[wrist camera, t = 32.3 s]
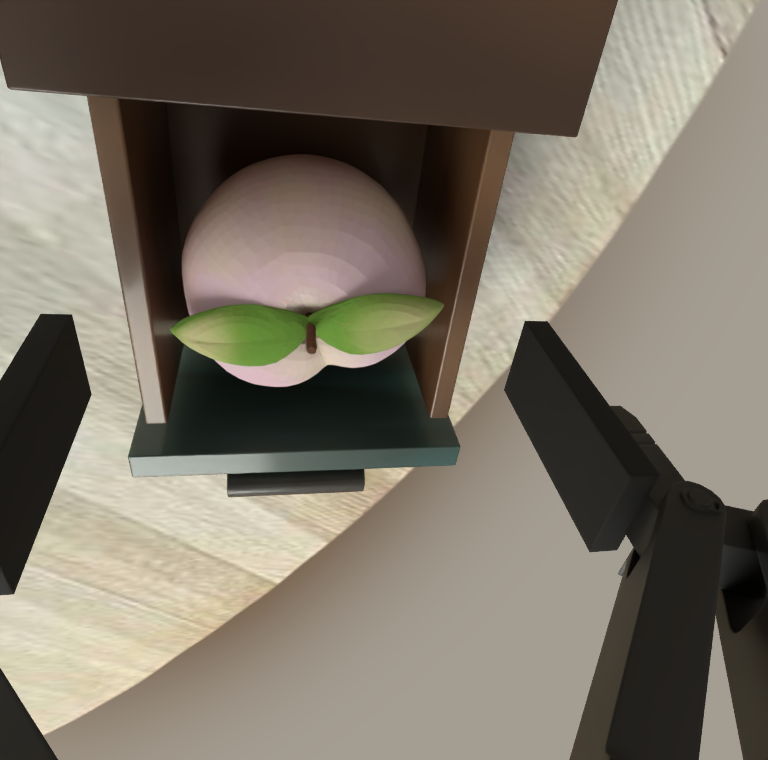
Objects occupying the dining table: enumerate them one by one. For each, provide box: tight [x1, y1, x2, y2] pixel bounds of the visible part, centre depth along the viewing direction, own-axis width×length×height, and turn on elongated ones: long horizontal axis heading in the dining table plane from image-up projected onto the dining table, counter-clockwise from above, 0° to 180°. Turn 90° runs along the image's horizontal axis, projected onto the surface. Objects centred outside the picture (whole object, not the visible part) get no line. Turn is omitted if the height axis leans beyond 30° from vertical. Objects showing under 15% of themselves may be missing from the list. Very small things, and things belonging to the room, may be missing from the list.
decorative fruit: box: [170, 154, 444, 387], centre depth 21 cm, size 9×8×10 cm
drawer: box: [87, 96, 515, 497], centre depth 24 cm, size 22×14×9 cm, turn 174°
